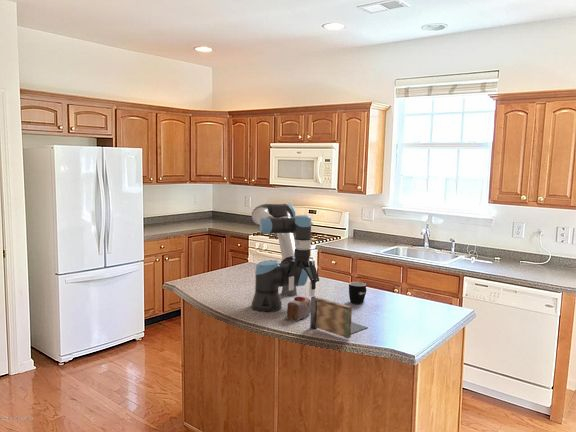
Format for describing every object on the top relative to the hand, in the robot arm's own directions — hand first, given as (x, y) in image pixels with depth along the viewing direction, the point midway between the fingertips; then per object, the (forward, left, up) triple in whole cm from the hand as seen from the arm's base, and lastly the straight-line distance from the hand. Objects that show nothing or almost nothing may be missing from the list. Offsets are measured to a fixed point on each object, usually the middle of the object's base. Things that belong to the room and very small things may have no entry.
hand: (301, 293), depth 220 cm
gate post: (+15, -7, -12) cm, 20 cm away
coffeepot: (-31, +24, -12) cm, 41 cm away
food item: (0, 0, -12) cm, 12 cm away
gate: (+25, -6, -10) cm, 28 cm away
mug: (+3, +41, -12) cm, 43 cm away
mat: (+25, +4, -12) cm, 28 cm away
